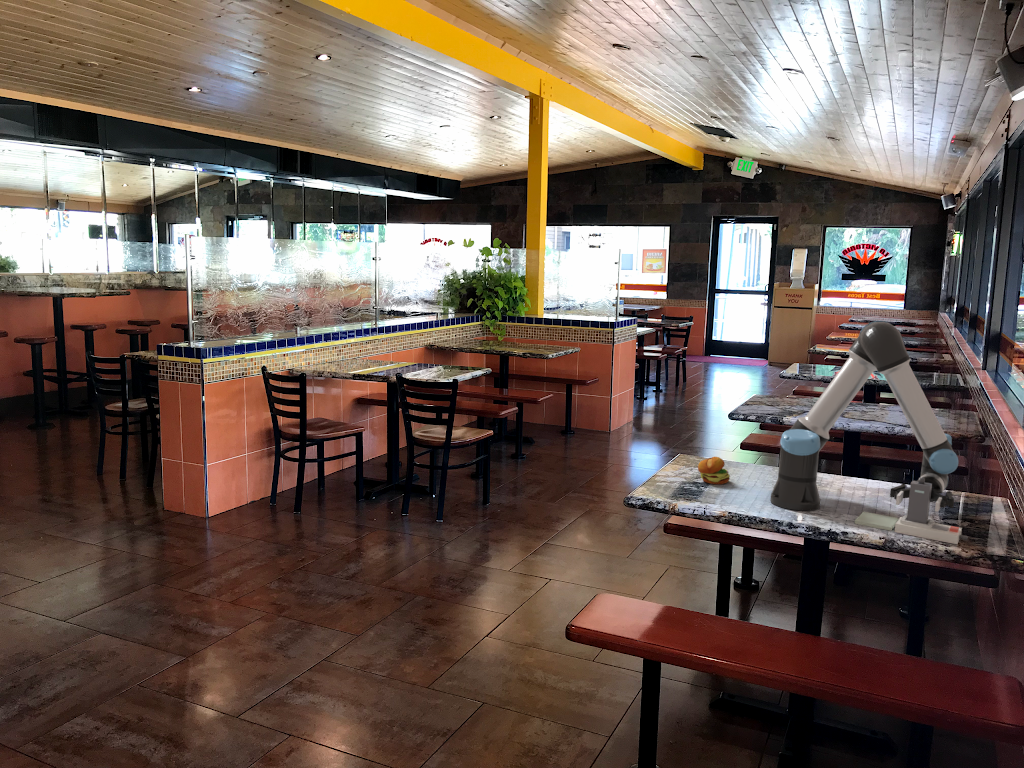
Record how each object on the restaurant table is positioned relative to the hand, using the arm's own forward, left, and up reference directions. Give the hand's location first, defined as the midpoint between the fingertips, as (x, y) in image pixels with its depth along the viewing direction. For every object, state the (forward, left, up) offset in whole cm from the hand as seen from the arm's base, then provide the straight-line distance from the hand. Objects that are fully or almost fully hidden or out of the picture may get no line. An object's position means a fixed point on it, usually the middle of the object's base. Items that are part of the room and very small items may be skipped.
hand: (917, 503), depth 225 cm
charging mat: (-11, +6, -9) cm, 16 cm away
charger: (0, +4, -7) cm, 8 cm away
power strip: (+3, +4, -9) cm, 11 cm away
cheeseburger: (-67, +19, -10) cm, 70 cm away
